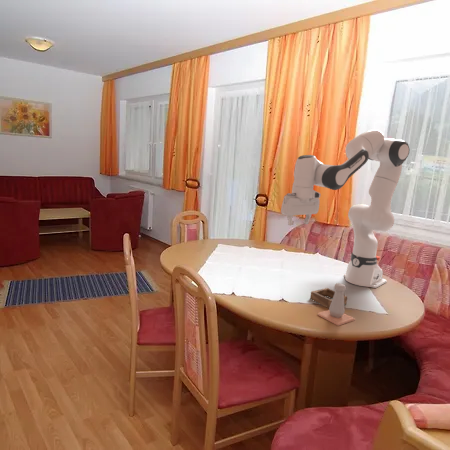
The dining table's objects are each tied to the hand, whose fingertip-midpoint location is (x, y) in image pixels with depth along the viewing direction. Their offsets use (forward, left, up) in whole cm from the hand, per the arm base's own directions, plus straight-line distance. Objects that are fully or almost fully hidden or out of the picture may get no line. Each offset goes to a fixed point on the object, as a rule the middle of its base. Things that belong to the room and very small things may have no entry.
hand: (298, 224), depth 163 cm
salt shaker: (+3, +28, -30) cm, 41 cm away
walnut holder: (-7, +16, -31) cm, 36 cm away
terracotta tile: (+3, +28, -31) cm, 42 cm away
